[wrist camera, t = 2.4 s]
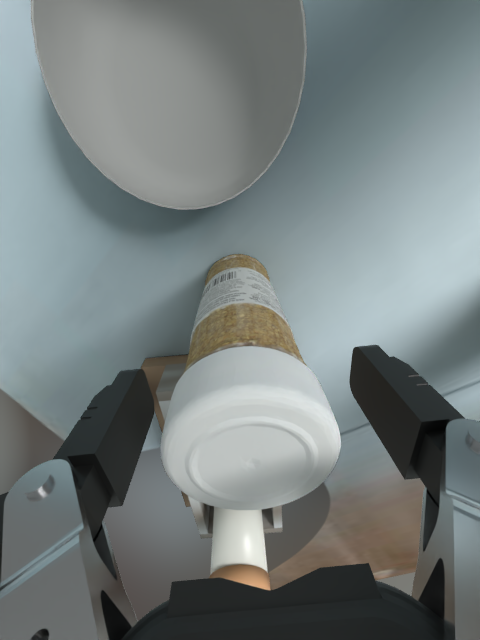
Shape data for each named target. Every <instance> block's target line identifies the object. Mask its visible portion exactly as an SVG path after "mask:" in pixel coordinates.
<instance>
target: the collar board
mask: <svg viewBox="0 0 480 640" xmlns="http://www.w3.org/2000/svg"><path fill="white" fill-rule="evenodd" d="M187 359H188V355H178V356H167V357H156V358H145V360H144V362H143V364H142V366H141V369H143V370H144V372H145V374H146V378H147V381H148V384H149V387H150V390H151V393H152V396H153V399H154V410H155V413H156V416H157V419H158V422H159V425H160V428H161V431H162V433H163V429H164V424H165V420H166V416H167V412H168V409H169V405H170V401H171V397H172V394H173V392H174V389H175V386H176V384H177V382H178V381H179V379H180V378H181V376H182V375H183V373H184V371H185V367H186V363H187ZM181 492H182V491H181ZM182 495H183V498H184V501H185V505H186V507H188V506H191V508H192V510H193V514H194V517H195V521H196V524H197V527H198V530H199V533H200V536H201V538H213V520H214V506H210V505H208V504H205V503H202V502H199V501H197V500H195V499H193V498H191V497H189V496H188V495H186V494H185V493H184V492H182ZM262 520H263V531H264V533H273V532H282V505H280V506H276V507H272V508H267V509H262Z"/></svg>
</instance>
